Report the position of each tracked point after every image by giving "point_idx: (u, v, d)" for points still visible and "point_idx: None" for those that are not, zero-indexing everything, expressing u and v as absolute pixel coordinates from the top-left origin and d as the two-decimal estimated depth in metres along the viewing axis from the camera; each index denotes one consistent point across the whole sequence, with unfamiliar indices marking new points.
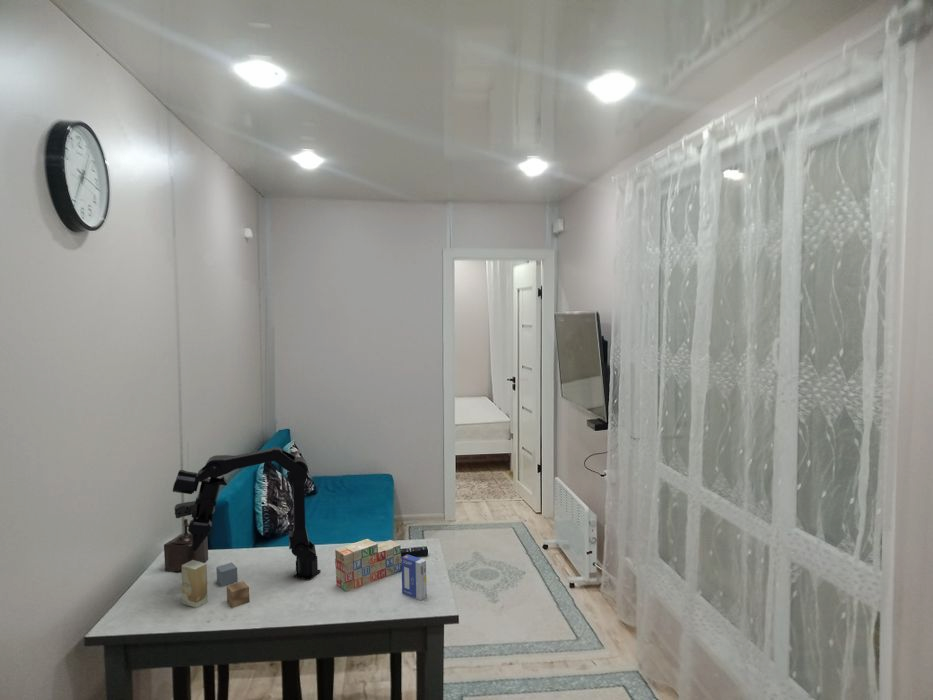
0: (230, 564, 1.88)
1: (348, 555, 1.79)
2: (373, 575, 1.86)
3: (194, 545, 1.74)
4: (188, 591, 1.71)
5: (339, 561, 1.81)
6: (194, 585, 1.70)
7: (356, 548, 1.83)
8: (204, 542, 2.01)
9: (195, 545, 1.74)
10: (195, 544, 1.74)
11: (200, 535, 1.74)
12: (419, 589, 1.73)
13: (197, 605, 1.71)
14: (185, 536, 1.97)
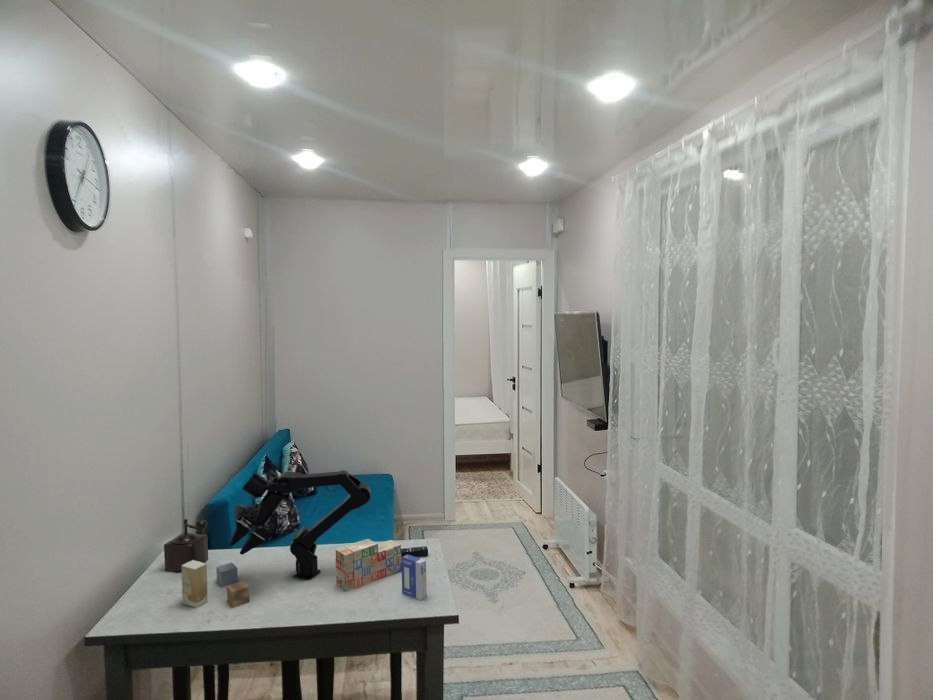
0: (230, 564, 1.88)
1: (348, 555, 1.79)
2: (373, 575, 1.86)
3: (244, 548, 1.77)
4: (188, 591, 1.71)
5: (339, 561, 1.81)
6: (194, 585, 1.70)
7: (356, 548, 1.83)
8: (204, 542, 2.01)
9: (245, 549, 1.77)
10: (245, 548, 1.77)
11: (255, 541, 1.78)
12: (419, 589, 1.73)
13: (197, 605, 1.71)
14: (185, 536, 1.97)
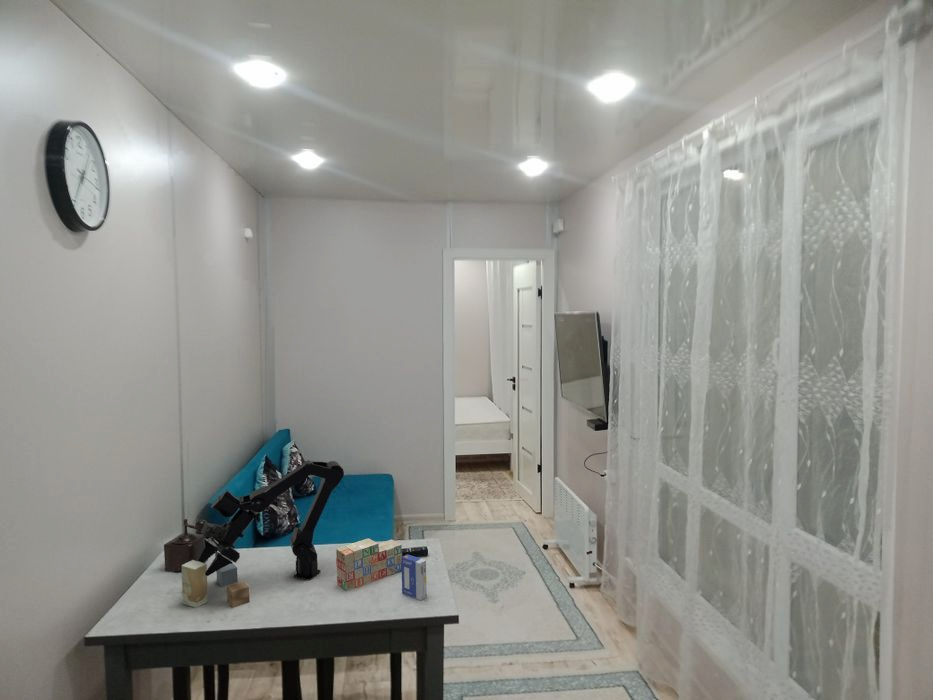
0: (230, 564, 1.88)
1: (349, 554, 1.79)
2: (374, 574, 1.86)
3: (210, 569, 1.71)
4: (188, 591, 1.71)
5: (340, 560, 1.81)
6: (194, 585, 1.70)
7: (357, 547, 1.83)
8: None
9: (211, 570, 1.71)
10: (211, 569, 1.71)
11: (221, 562, 1.72)
12: (419, 589, 1.73)
13: (197, 605, 1.71)
14: (185, 536, 1.97)
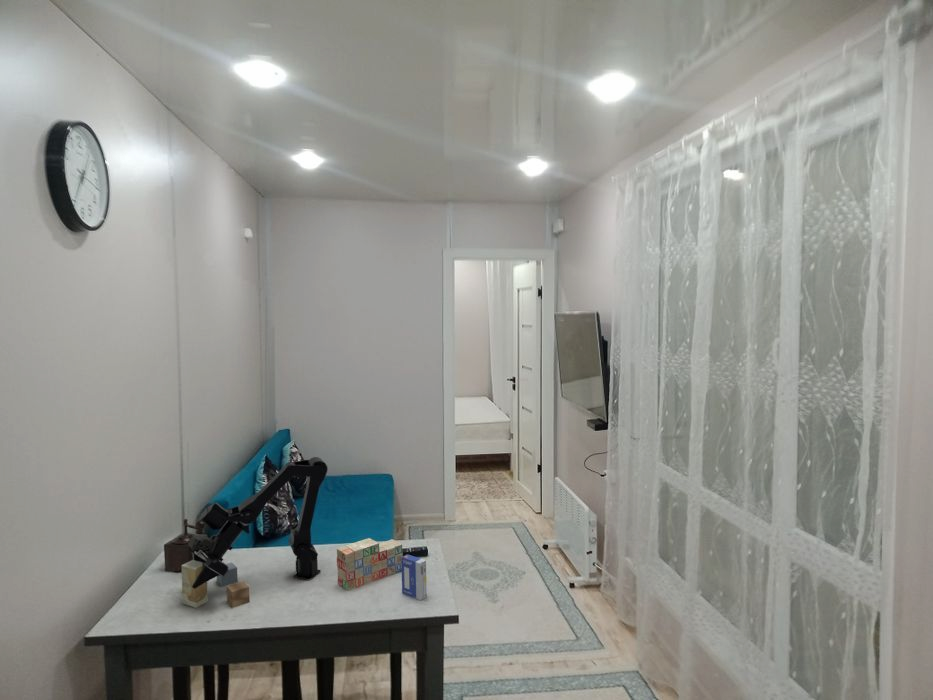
0: (230, 564, 1.88)
1: (349, 554, 1.80)
2: (375, 574, 1.86)
3: (197, 582, 1.69)
4: (188, 591, 1.71)
5: (341, 560, 1.82)
6: None
7: (357, 547, 1.83)
8: None
9: (198, 583, 1.69)
10: (198, 581, 1.70)
11: (208, 574, 1.71)
12: (419, 589, 1.73)
13: (197, 605, 1.71)
14: (185, 536, 1.97)
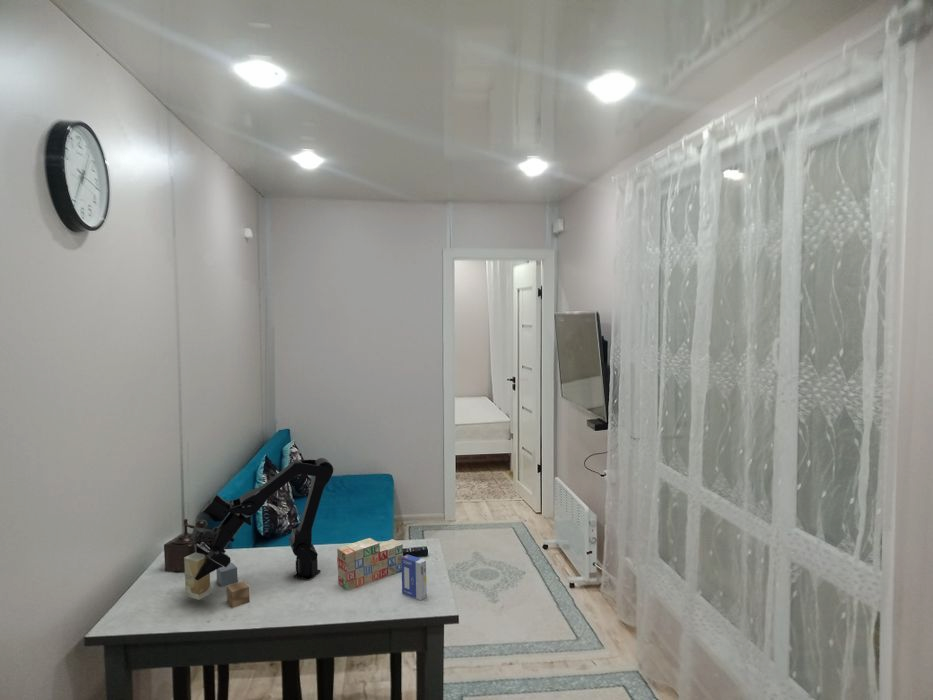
0: (230, 564, 1.88)
1: (350, 554, 1.80)
2: (375, 574, 1.86)
3: (200, 574, 1.70)
4: (191, 583, 1.72)
5: (341, 560, 1.82)
6: None
7: (358, 547, 1.83)
8: None
9: (201, 574, 1.70)
10: (201, 573, 1.70)
11: (211, 566, 1.71)
12: (419, 589, 1.73)
13: (200, 597, 1.71)
14: (185, 536, 1.97)
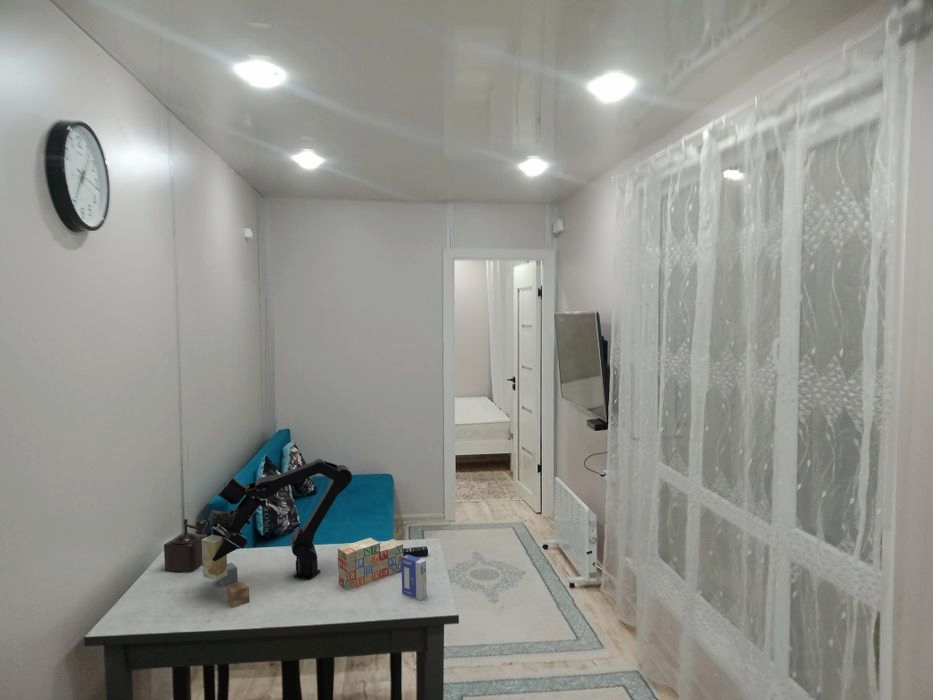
0: (230, 564, 1.88)
1: (350, 554, 1.80)
2: (375, 574, 1.86)
3: (217, 555, 1.73)
4: (208, 564, 1.75)
5: (341, 560, 1.82)
6: None
7: (358, 547, 1.83)
8: None
9: (218, 556, 1.73)
10: (218, 554, 1.73)
11: (228, 547, 1.74)
12: (419, 589, 1.73)
13: (217, 578, 1.74)
14: (185, 536, 1.97)
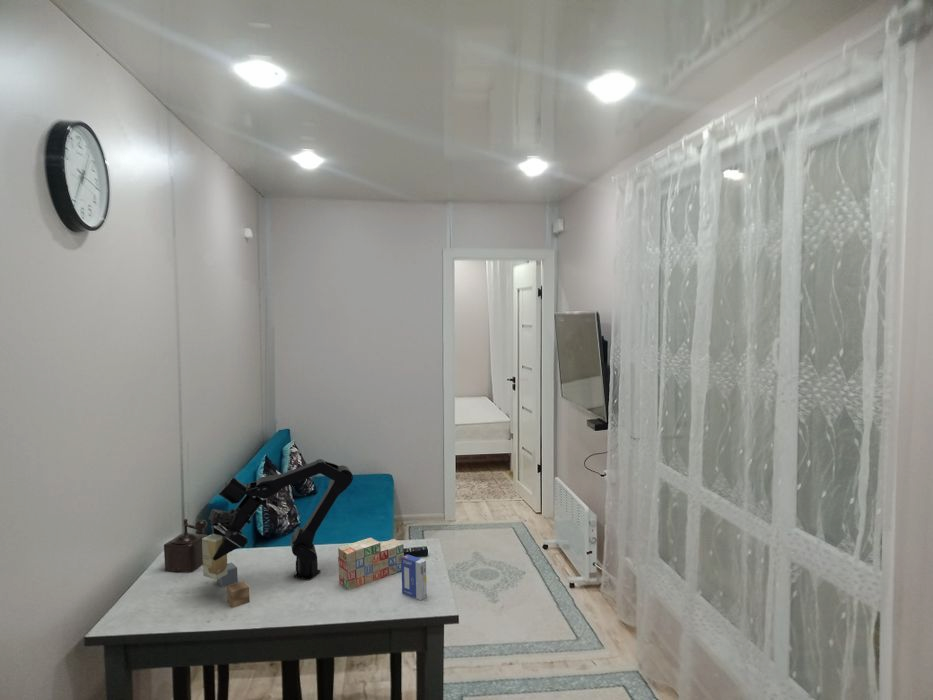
0: (230, 564, 1.88)
1: (351, 553, 1.80)
2: (376, 573, 1.87)
3: (217, 554, 1.73)
4: (209, 563, 1.75)
5: (342, 559, 1.82)
6: None
7: (359, 547, 1.84)
8: None
9: (218, 555, 1.73)
10: (219, 553, 1.73)
11: (228, 546, 1.74)
12: (419, 589, 1.73)
13: (217, 577, 1.74)
14: (185, 536, 1.97)
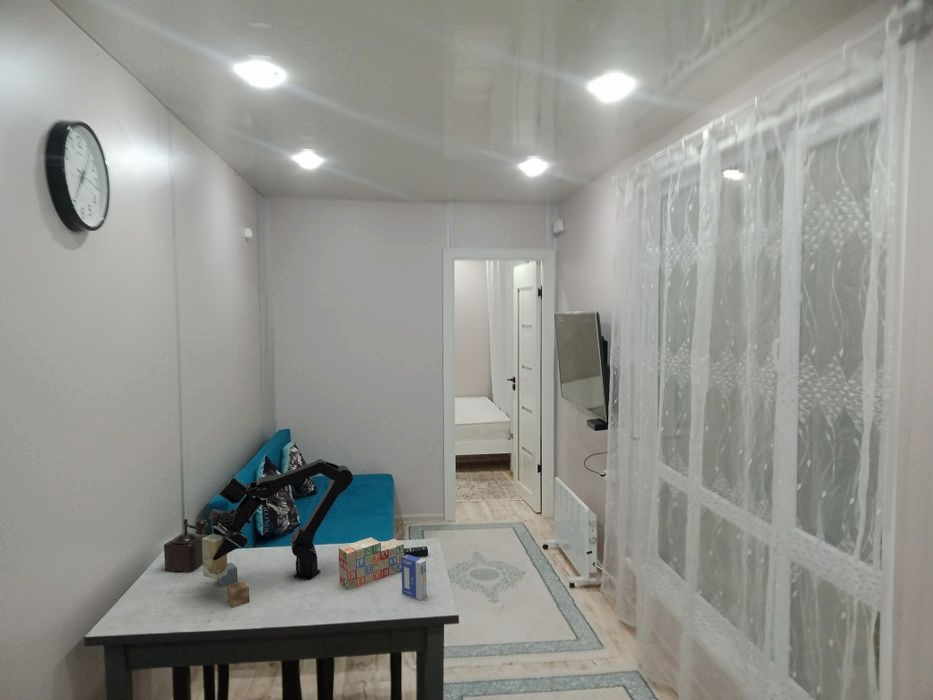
0: (230, 564, 1.88)
1: (351, 553, 1.80)
2: (376, 573, 1.87)
3: (217, 554, 1.73)
4: (209, 563, 1.75)
5: (342, 559, 1.82)
6: None
7: (359, 546, 1.84)
8: None
9: (218, 555, 1.73)
10: (219, 553, 1.73)
11: (228, 546, 1.74)
12: (419, 589, 1.73)
13: (217, 577, 1.74)
14: (185, 536, 1.97)
